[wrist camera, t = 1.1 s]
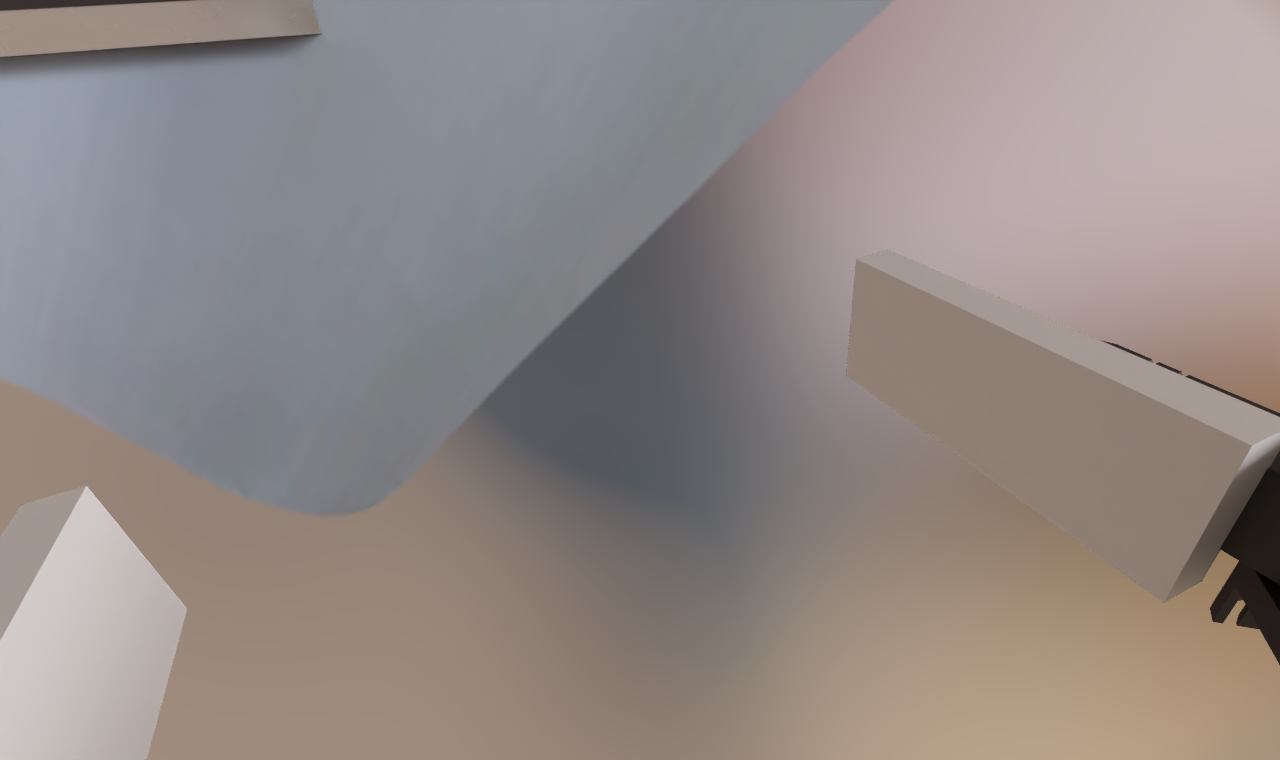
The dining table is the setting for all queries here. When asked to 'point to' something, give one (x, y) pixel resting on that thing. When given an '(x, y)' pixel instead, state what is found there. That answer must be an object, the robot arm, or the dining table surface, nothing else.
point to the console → (145, 23)
